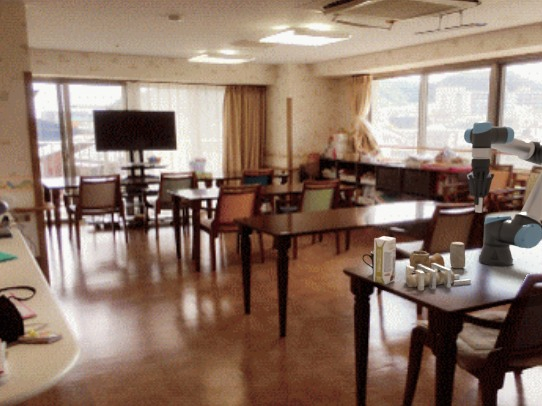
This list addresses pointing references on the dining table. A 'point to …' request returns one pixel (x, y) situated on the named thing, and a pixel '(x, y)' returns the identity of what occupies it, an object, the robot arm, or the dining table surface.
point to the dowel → (427, 279)
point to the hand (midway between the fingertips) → (478, 212)
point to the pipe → (425, 259)
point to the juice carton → (384, 259)
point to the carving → (457, 255)
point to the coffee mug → (371, 259)
